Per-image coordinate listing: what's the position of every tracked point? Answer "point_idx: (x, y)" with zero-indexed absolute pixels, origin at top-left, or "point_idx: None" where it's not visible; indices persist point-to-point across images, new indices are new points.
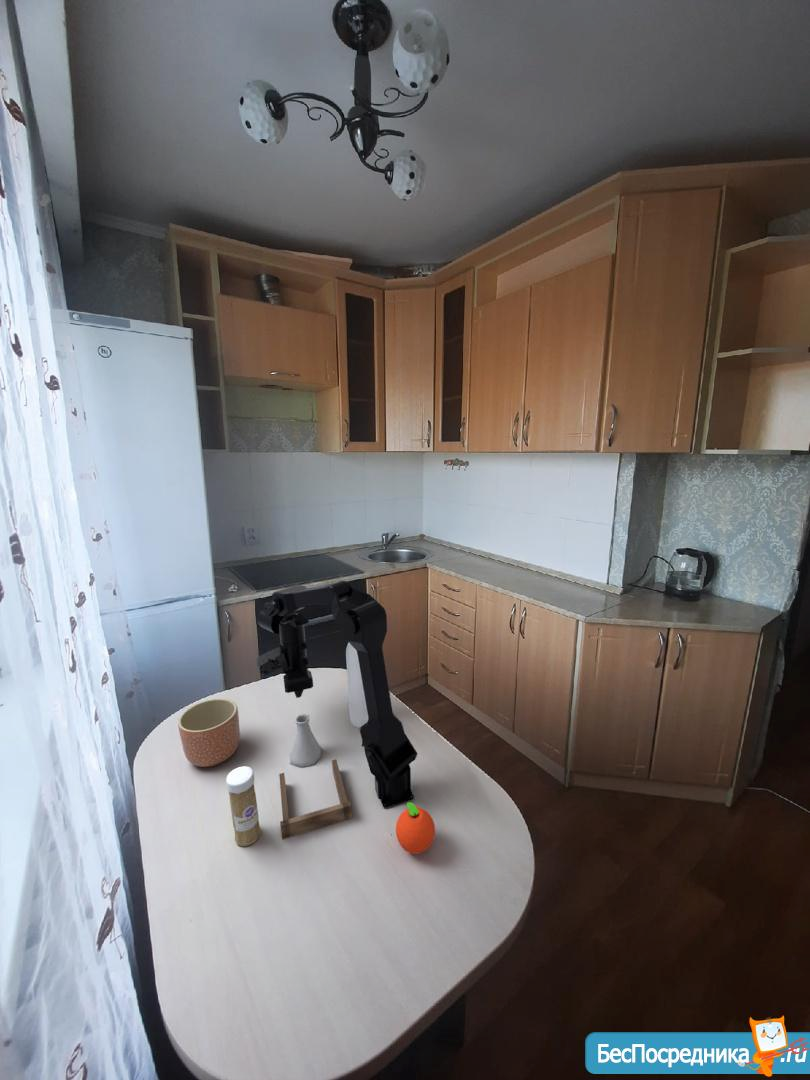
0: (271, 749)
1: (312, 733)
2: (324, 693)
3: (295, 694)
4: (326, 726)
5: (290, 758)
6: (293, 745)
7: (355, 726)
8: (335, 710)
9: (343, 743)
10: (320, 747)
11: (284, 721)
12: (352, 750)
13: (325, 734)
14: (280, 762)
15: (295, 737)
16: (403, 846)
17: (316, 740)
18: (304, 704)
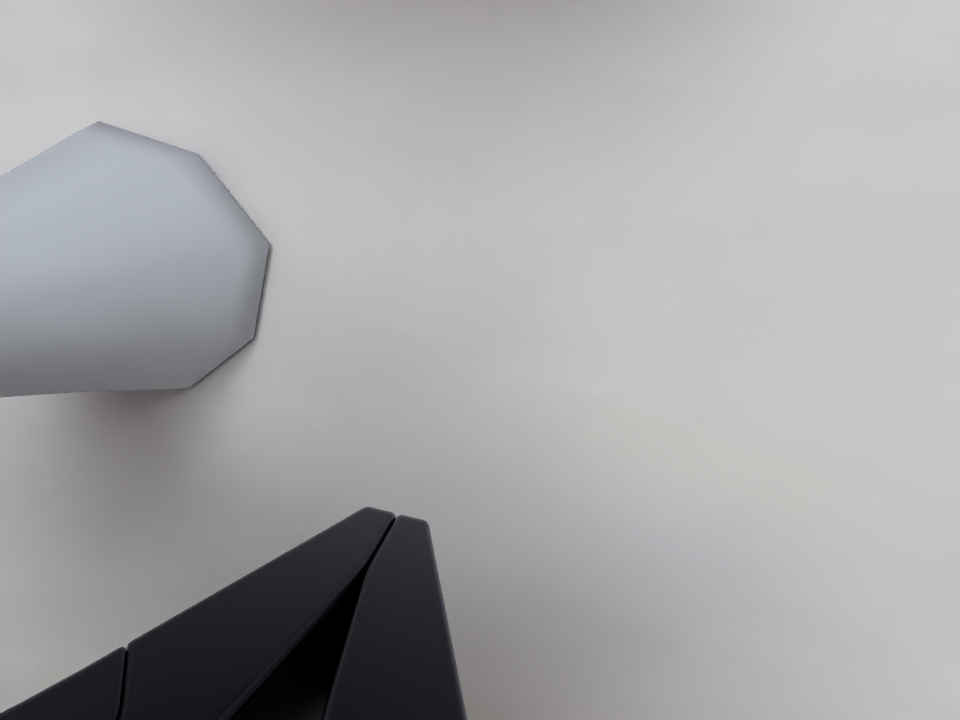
0: (350, 6)
1: (32, 393)
2: (864, 668)
3: (304, 545)
4: (415, 509)
5: (140, 138)
6: (96, 185)
7: None
8: (567, 633)
9: (185, 525)
10: (183, 386)
11: (699, 236)
12: (103, 539)
13: (328, 468)
14: (153, 48)
15: (30, 222)
16: None
17: (122, 389)
18: (834, 480)
